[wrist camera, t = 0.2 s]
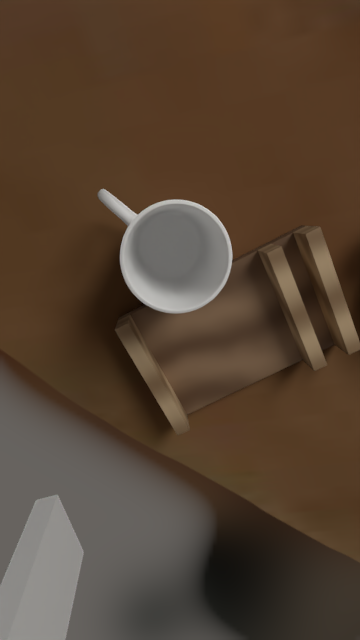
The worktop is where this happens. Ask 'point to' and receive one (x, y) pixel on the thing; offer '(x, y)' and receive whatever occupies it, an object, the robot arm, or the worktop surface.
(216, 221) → the mug
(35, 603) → the robot arm
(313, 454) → the worktop surface
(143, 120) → the worktop surface
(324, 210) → the worktop surface
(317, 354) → the rack
